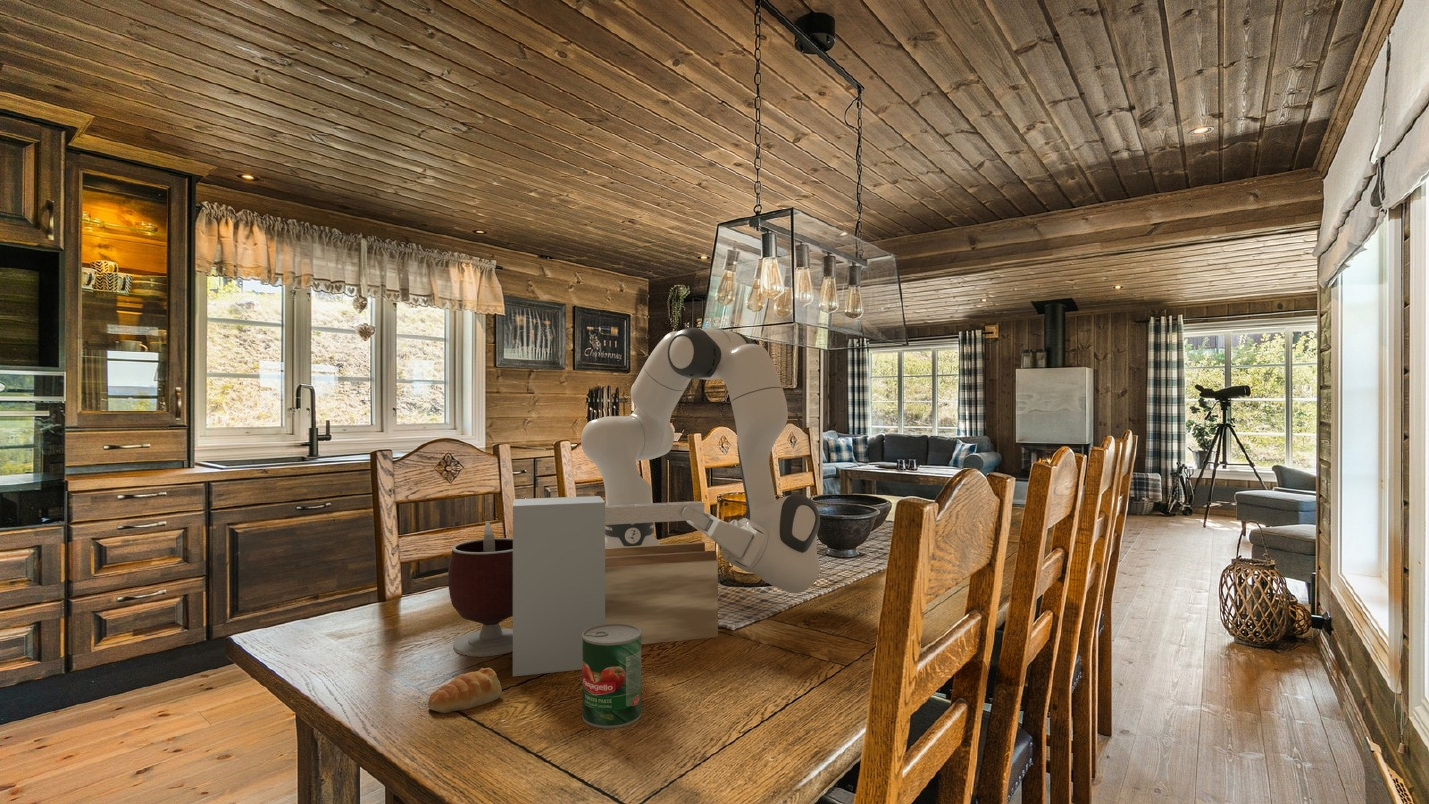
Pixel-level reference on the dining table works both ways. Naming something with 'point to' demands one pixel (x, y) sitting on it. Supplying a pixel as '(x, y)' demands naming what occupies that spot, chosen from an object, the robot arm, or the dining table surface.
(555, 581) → the grey tall block
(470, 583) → the mate gourd
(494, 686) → the pastry
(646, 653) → the dining table surface
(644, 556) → the cradle block
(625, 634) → the canned tomato
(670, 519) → the bar
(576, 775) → the dining table surface
